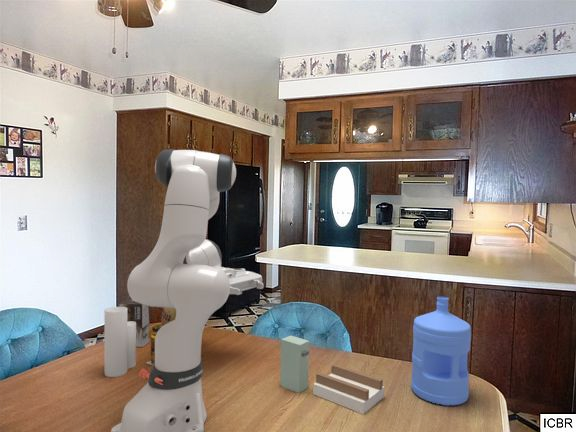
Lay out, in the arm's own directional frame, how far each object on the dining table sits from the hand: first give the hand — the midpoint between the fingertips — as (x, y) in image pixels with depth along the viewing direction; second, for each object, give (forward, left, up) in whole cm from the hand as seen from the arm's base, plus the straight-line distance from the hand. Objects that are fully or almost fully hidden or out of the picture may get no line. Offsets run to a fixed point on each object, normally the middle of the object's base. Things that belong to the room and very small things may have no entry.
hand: (251, 289), depth 129 cm
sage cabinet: (0, -18, -26) cm, 32 cm away
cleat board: (+6, -33, -26) cm, 43 cm away
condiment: (-15, +27, -26) cm, 40 cm away
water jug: (+25, -52, -26) cm, 64 cm away
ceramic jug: (+2, +41, -26) cm, 49 cm away
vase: (-28, +31, -26) cm, 49 cm away
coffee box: (-13, +48, -26) cm, 56 cm away
